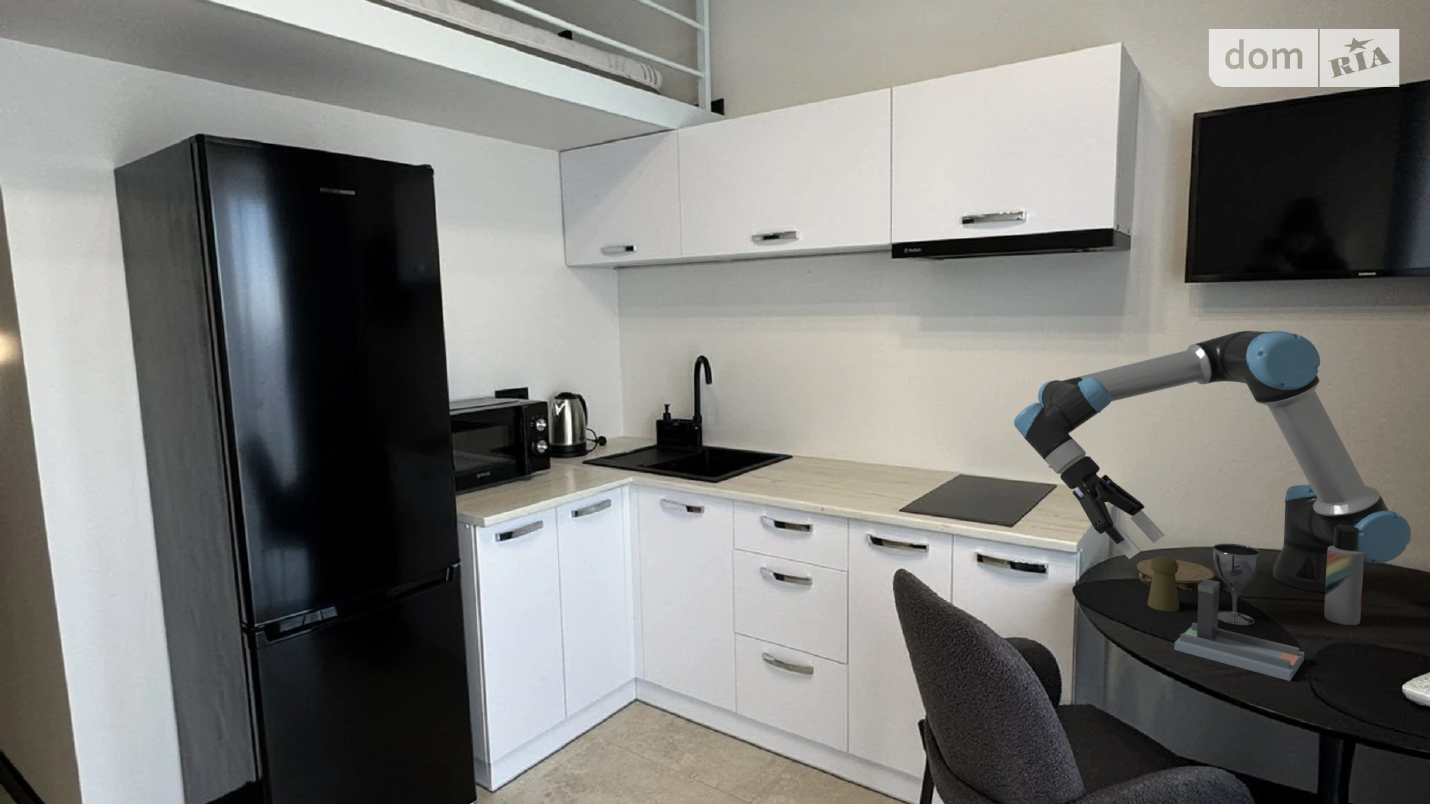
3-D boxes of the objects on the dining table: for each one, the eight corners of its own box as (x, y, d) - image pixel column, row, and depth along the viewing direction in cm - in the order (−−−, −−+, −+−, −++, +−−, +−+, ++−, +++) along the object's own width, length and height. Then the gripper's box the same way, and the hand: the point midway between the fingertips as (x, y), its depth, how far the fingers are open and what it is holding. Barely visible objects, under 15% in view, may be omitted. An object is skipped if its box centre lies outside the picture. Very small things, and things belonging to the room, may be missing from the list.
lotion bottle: (1352, 616, 154) (1357, 523, 152) (1365, 627, 149) (1371, 531, 147) (1319, 613, 156) (1323, 521, 154) (1331, 624, 151) (1336, 529, 149)
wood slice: (1215, 597, 168) (1215, 584, 168) (1135, 586, 176) (1135, 574, 176) (1212, 575, 181) (1212, 563, 181) (1138, 566, 190) (1138, 555, 189)
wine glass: (1202, 612, 160) (1204, 544, 158) (1236, 609, 160) (1239, 542, 158) (1230, 627, 152) (1233, 556, 150) (1267, 624, 152) (1269, 553, 151)
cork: (1184, 612, 160) (1185, 563, 159) (1153, 610, 161) (1154, 562, 160) (1172, 601, 166) (1174, 554, 165) (1143, 600, 167) (1144, 553, 166)
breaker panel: (1174, 649, 143) (1174, 636, 142) (1192, 632, 150) (1193, 619, 150) (1290, 681, 129) (1290, 666, 129) (1303, 660, 137) (1304, 646, 136)
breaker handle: (1196, 639, 143) (1198, 584, 142) (1203, 632, 145) (1204, 579, 144) (1211, 643, 141) (1213, 587, 140) (1217, 636, 144) (1219, 582, 142)
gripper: (1084, 466, 170) (1154, 542, 160) (1034, 486, 153) (1109, 572, 144) (1109, 446, 165) (1182, 523, 156) (1060, 464, 149) (1139, 551, 139)
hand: (1147, 547), depth 150 cm, fingers open, 13 cm apart
